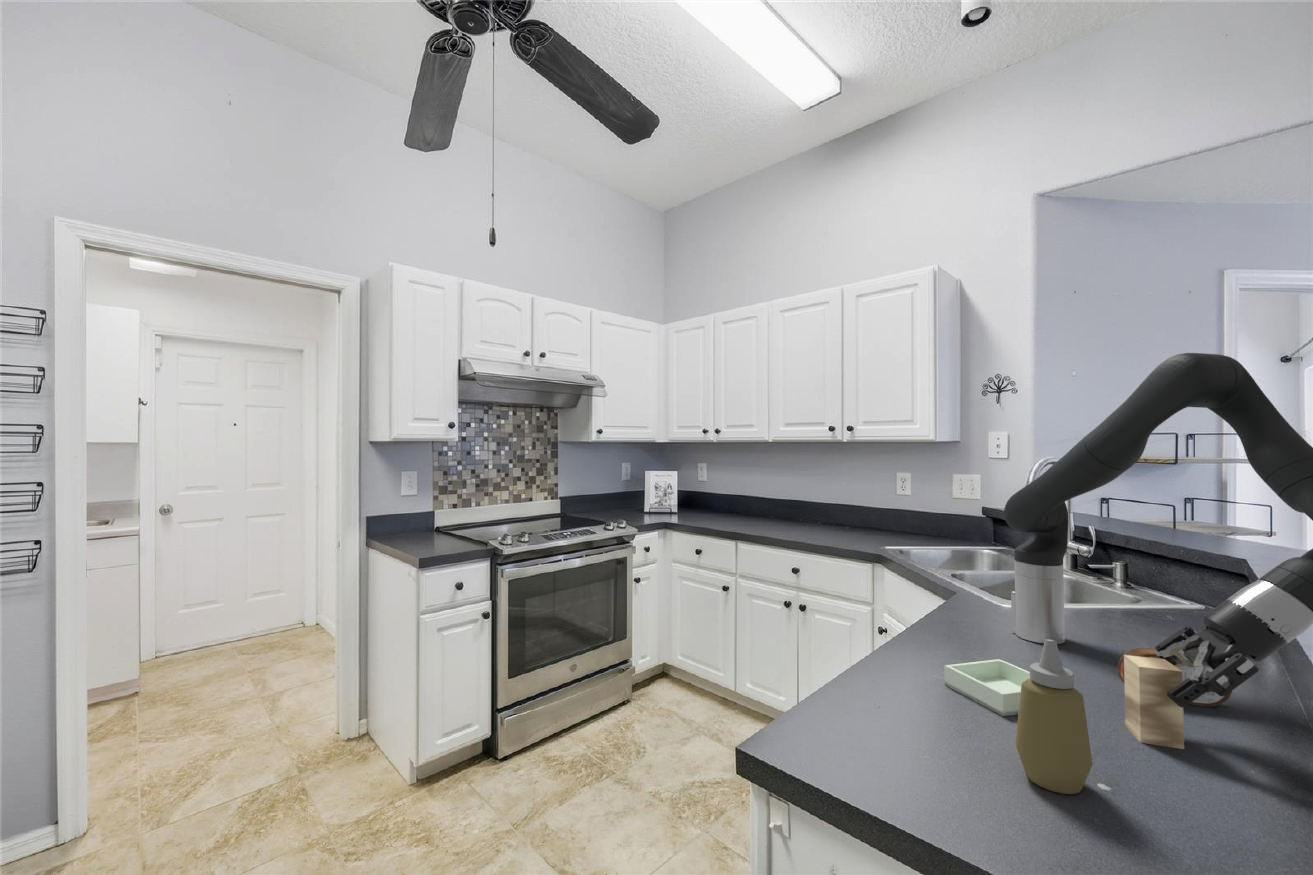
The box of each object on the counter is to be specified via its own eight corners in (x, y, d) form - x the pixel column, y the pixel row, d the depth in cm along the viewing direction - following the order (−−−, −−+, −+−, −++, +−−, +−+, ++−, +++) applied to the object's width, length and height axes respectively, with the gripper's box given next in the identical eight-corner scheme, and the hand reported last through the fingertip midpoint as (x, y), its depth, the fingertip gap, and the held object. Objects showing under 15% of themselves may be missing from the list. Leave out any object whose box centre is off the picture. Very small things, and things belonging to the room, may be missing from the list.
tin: (1225, 704, 93) (1224, 653, 93) (1237, 712, 90) (1236, 660, 90) (1116, 691, 98) (1115, 643, 98) (1125, 698, 95) (1124, 649, 95)
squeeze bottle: (1001, 765, 75) (999, 631, 75) (1057, 762, 75) (1054, 629, 76) (1048, 803, 67) (1046, 653, 67) (1110, 800, 67) (1107, 651, 68)
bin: (944, 684, 100) (944, 665, 100) (999, 677, 103) (999, 659, 104) (1003, 716, 88) (1002, 694, 88) (1063, 707, 91) (1063, 686, 92)
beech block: (1140, 742, 81) (1139, 666, 81) (1125, 726, 85) (1123, 654, 85) (1184, 749, 79) (1182, 671, 79) (1166, 732, 83) (1164, 659, 84)
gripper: (1203, 587, 86) (1115, 652, 90) (1266, 612, 73) (1159, 687, 76) (1249, 625, 84) (1156, 690, 88) (1322, 658, 71) (1210, 733, 74)
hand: (1158, 689), depth 82 cm, fingers open, 8 cm apart
